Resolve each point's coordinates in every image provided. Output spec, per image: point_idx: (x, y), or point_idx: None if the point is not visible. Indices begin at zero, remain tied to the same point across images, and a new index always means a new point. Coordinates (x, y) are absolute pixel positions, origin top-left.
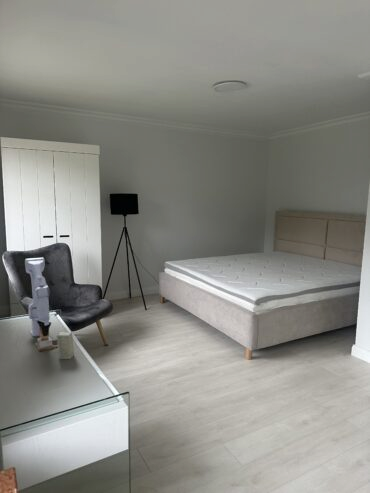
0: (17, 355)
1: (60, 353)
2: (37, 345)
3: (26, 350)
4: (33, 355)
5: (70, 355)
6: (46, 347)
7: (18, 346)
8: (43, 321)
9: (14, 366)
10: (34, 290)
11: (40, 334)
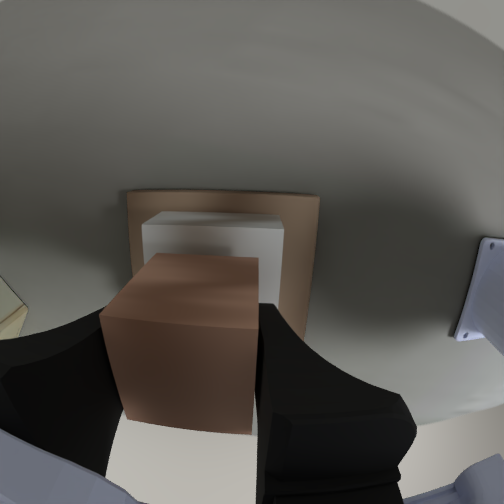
0: (171, 23)
1: None
2: (240, 201)
3: (232, 96)
4: (91, 135)
5: None
6: (142, 259)
7: (375, 68)
8: None
9: (27, 26)
10: None
11: (171, 276)
